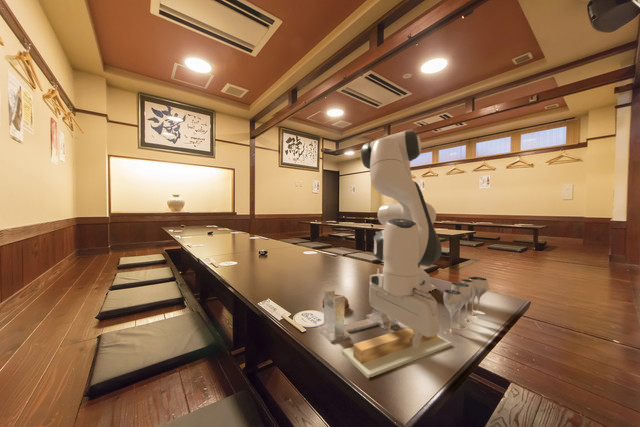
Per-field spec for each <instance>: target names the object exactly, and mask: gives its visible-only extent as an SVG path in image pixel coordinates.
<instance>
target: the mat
mask: <svg viewBox="0 0 640 427" xmlns="http://www.w3.org/2000/svg"><path fill="white" fill-rule="evenodd" d="M452 345H453V342H451V341H449V340H447V339H445V338H444V337H442V336H440V335H438V334H437V337H436V338H433V339H431V340H428V341H425V342H422V343H419V347H417V348H414V347H412V346H411V347H408V348H405V349H402V350H399V351H396V352H394V353H391V354H388V355H385V356H382V357H379V358H377V359H374V360H371V361H368V362H365V363H362V364H361V363H360V362H359V361H357V360H356V359H355V358H354V357H353V346H351V347H348V348H344V349H342V350H341V354H342V355H343V356H344V357H345V358H346V359H347V360H348V361H349V362H350V363H351V364H352V365H353V366H354V367H355V368H356V369H357V370H358V371H359V372H360V373H361V374H362V375H363V376H364V377H366V378H367V379H371V378H372V377H375V376H378V375H381V374H383V373H386V372H387V371H390V370H393V369H396V368H398V367H400V366H403V365H406V364H409V363H411V362H414V361H416V360H418V359H421V358H425V357H427V356H428V355H431V354H434V353H436V352H439V351H442V350H445V349H446V348H449V347H452ZM370 377H371V378H370Z"/></svg>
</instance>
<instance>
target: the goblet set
mask: <svg viewBox="0 0 640 427" xmlns="http://www.w3.org/2000/svg"><path fill="white" fill-rule="evenodd" d="M489 289H490V285H489V281H488V279H487V278H485V277H481V276H480V277H479V276H471V277H469V276H468V277H467V279H464V278H463V279H461V280H460V282H458V281H457V282H455V281H453V282H451V283H450V289H444V291H443V295H442V299H443V303H444V304H443V305H444V306H445V308H446V310H448V313H449V317H450V328H449V327H446V328H443V329H442V331H443V333H445V334H446V333H448V334H447V335H449V334H451V335H450V336H452V335H453V336H454V337H455V336H456V335H458V336H460V335H459V333H460V332H459V331H458V330H459V329H463V328H465V326H466V325H465V324H463V323H461V321H460V319H461V313H462V308H463V306H465V319H462V320H463V321H467V322H470V321H469V320H470V319H469V320H468V317H467V314H468V305H469V302H470V300H471V310H472V312H471V313H470V314H471V316H475V315H476V314H474V313H473V309H474V305H475V304H474V303H475V300H476V299H475V298H477V310H478V311H479V310H480V301H481V300H480V299H481V297H482V296H483V295H484V294H486V293H488V291H489ZM456 312H458V313H457V314H458V319H457V320H458V322H454V321H453V320H454V315H455V313H456ZM473 314H474V315H473ZM462 324H463V325H462ZM464 325H465V326H464ZM456 337H457V336H456Z"/></svg>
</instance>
